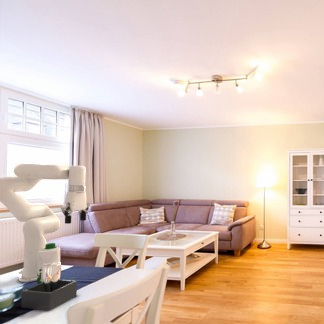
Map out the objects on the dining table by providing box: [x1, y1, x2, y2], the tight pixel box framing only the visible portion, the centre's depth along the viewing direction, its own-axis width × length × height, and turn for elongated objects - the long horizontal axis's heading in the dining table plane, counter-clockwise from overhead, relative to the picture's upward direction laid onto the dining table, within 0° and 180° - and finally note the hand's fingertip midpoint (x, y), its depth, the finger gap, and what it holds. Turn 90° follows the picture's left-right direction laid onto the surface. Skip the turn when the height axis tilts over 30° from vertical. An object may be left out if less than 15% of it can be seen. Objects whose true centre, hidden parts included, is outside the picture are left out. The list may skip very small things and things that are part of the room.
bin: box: [20, 279, 78, 311], centre depth 118 cm, size 14×14×7 cm
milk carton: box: [36, 242, 61, 285], centre depth 135 cm, size 9×9×20 cm
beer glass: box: [41, 261, 62, 292], centre depth 118 cm, size 7×7×15 cm
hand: (75, 221), depth 143 cm, fingers open, 9 cm apart
